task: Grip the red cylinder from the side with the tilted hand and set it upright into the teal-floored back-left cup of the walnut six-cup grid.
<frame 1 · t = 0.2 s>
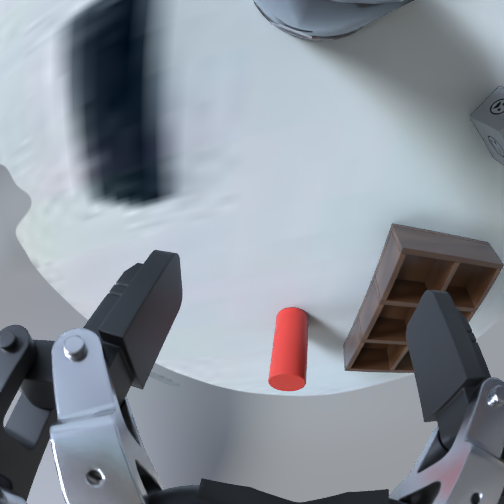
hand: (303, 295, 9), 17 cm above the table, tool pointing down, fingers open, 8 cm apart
red cylinder: (292, 318, 35), on the table
dice cube: (496, 121, 18), on the table
grid: (414, 300, 31), on the table
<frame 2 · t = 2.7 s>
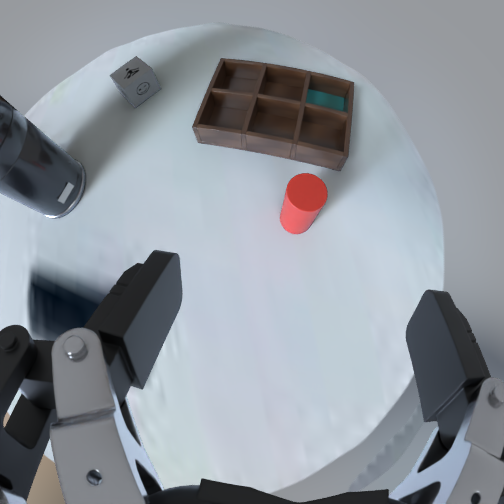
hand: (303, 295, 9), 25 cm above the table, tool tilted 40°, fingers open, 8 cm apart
red cylinder: (295, 218, 35), on the table
dice cube: (140, 91, 40), on the table
grid: (277, 116, 38), on the table
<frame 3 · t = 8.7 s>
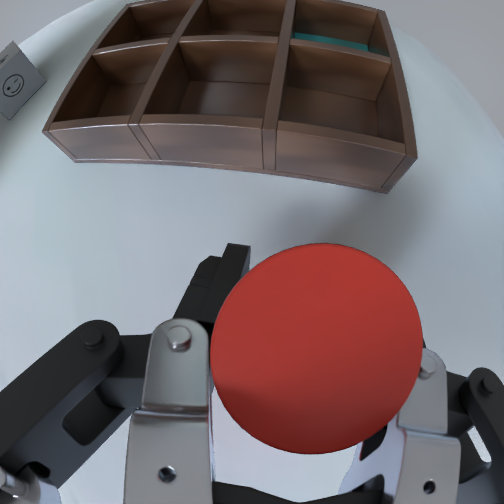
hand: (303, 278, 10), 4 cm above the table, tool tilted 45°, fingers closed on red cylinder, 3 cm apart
red cylinder: (286, 331, 13), on the table, touching gripper
dice cube: (23, 93, 19), on the table
grid: (234, 84, 17), on the table
when the fingers open (5 cm above the table, at t = 16.9 s): red cylinder stays where it is, resting on grid.
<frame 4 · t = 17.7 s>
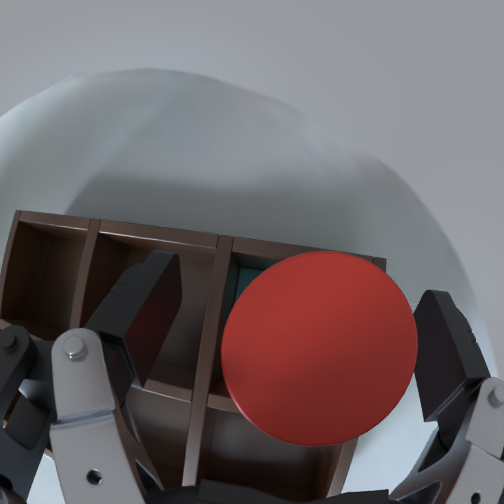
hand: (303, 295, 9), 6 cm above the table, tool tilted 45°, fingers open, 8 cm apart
red cylinder: (290, 331, 14), point 1 cm above the table, touching grid
grid: (161, 365, 14), on the table
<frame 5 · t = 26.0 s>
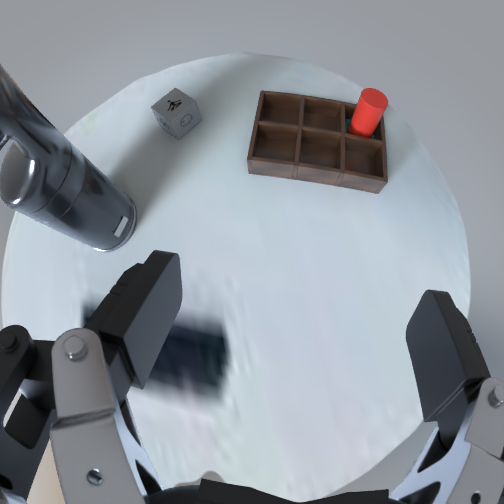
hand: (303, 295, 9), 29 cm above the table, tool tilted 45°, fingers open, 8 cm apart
red cylinder: (358, 134, 41), point 1 cm above the table, touching grid
dice cube: (180, 123, 44), on the table
grid: (318, 145, 42), on the table
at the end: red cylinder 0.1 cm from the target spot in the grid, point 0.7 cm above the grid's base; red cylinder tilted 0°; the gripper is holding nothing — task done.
